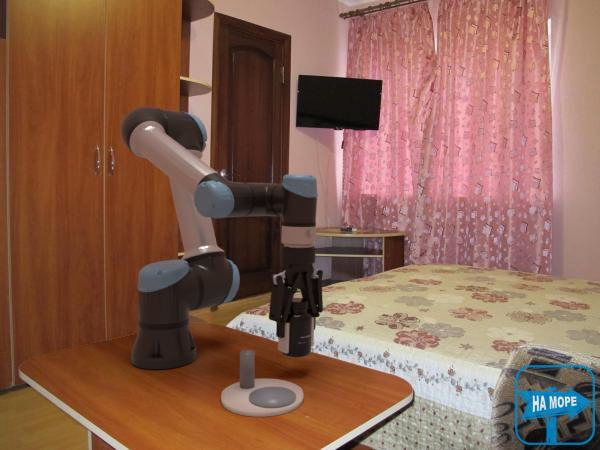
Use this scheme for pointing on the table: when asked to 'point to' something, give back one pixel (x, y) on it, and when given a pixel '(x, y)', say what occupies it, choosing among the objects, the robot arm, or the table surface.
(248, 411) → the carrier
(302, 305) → the supplement bottle
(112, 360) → the table surface
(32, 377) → the table surface
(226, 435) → the table surface
